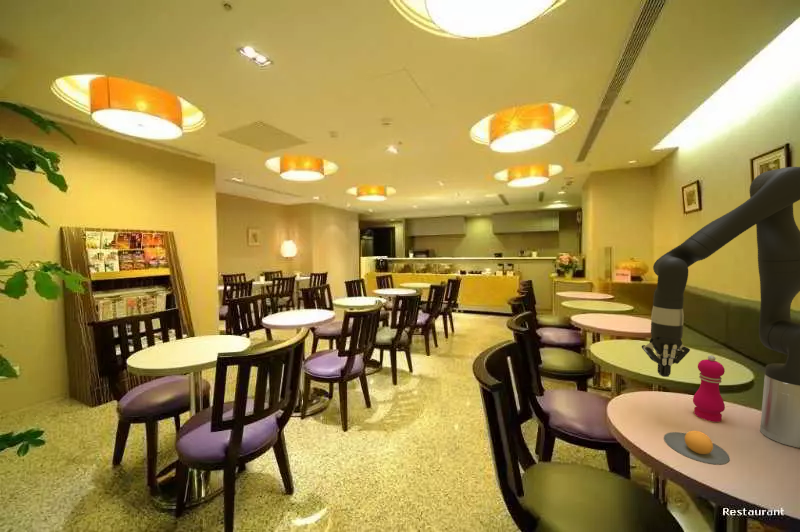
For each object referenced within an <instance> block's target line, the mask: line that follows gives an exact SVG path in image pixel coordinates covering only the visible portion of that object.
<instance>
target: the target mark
mask: <svg viewBox="0 0 800 532" xmlns="http://www.w3.org/2000/svg"><path fill="white" fill-rule="evenodd" d="M685 435H686V432H677V431H675V432H674V431H671V432H667V433H666V434H664V435H663V436H664V437H663V440H664V442H665V444H666V445H667V446H668V447H670V448H671V449H672V450H673V451H674V452H677V453H678V454H680V455H682V456H685V457H687V458H689V459H692V460H694V461H698V462H700V463H705V464H709V465H710V464H711V465H716V464H719V465H725V464H728V463H729V462H730V456H729V453H728V452H726V451H725V450H724V449H723V448H722V447H721V446H719V445H717V444H716V443H713V442H712V443H713V450H712V451H711V452H710V453H708V454H698V453H696V452H694V451H692V450H691V449H690V448H689V447H688V446H687V445H686V443H685Z"/></svg>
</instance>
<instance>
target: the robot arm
mask: <svg viewBox="0 0 800 532" xmlns="http://www.w3.org/2000/svg"><path fill="white" fill-rule="evenodd" d="M749 196H750V197H749V198H748V199H747V200H745V201H744V202H743V203H741V204H740V205H739V206H737V207H736V208H734V209H732V210H730V211H728V212H727V213H725V214H723V215H721V216H719V217H718V218H716V219H714V220H712V221H711V222H709V223H708V224H706V225H704V226H703V227H702V228H700V229H698V231H696V232H695V233H694V234H692V235H690V237H688V238H687V239H685V240H684V241H683V242H682V243H680V244H679V245H678V246H676V247H674V248H671V250H669V251H668V252H666V253H664V254H663V255H660V257H659V258H658V259H656V260H655V262H654V264H653V267H652V269H653V273H654V274H655V276H657V281H656V282H657V284H656V285H657V286H656V288H655V290H654V292H653V302H652V309H651V318H650V319H651V320H650V322H651V323H650V335H651V337H650V339H649V343H647V344H646V345H644V344H643V345H641V348H642V350H643V352H644V353H645V354H646V355H647V357H648V358H649V359H650V360H651V361H652V362H655V363H656V364H657V373H658V374H659V376H661V377H663V378H665V377H666V378H668V377H670V375H671V374H672V373H671V371H672V370H671V369H672V365H674V364H676V365H677V364H679V363H680V362H681V361H682V360H683V359H684V358H685V357H686V356H687V354H688V353H689V352H690V351H691V349H690V348H689V347H687V346H685V345H684V344H683V341H682V339H683V335H684V333H683V332H684V318H685V316H684V315H685V314H684V302H685V301H684V300H685V298H684V297H685V296H684V294H685V290H686V287H687V283H688V279H689V267H691V266H692V265H694V264H695V263H696V262H700V261H703V260H705V259H707V258H709V257H710V256H712V255H713V254H715V253H716V252H717V251H719V250H720V249H721V248H724V246H725V245H727V244H728V243H730V242H731V241H733V240H735V239H736V238H737V237H738V236H740V235H741V234H743V233H745V232H746V231H747V230H750V228H752V227H754V226H755V225H756V246H757V247H756V248H757V264H758V265H757V266H758V268H757V269H758V275H759V287H760V289H759V291H760V308H759V309H760V310H759V321H758V322H759V323H758V337H759V341H760V342H761V343H762V345H763V346H764V347H765V348H767V349H769V350H772V351H773V352H774V351H775V352H778V353H781V354H784V355H786V356H787V358H786V361H785V363H777V362H776V363H768V364H767V365H765V369H764V381H763V390H762V391H763V392H762V403H761V404H762V405H761V413H760V414H761V417H760V425H759V427H760V429H759V431H760V433H761V434H762V435H763V436H764V437H766V438H769V439H771V440H772V441H774V442H777V443H780V444H783V445H785V446H789V447H794V448H799V449H800V322H796V321H792V317H791V308H792V307H791V306H792V303H793V300H795V297H796V296H797V295H798V294H799V293H800V229H799V227H798V225H797V222H796V221H795V216H794V204H795V203H796V202H799V201H800V166H787V167H786V166H785V167H781V168H777V169H772V170H767V171H764V172H762V173H760V174H759V175H757V176H756V177H755V178H753V180H752V182H751V183H750V186H749Z"/></svg>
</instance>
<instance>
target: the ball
mask: <svg viewBox="0 0 800 532" xmlns="http://www.w3.org/2000/svg"><path fill="white" fill-rule="evenodd" d="M685 433H686V432H685ZM685 443H686V445H687V446H688V447H689V448H690V449H691V450H692V451H694V452H696V453H698V454H708V453H710V452H711V451H712V450H713V441H712V439H711V438H710V437H709V436H708V435H707V434H705V433H704V432H702V431H699V430H690V431H687V433H686V435H685Z"/></svg>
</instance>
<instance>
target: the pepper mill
mask: <svg viewBox="0 0 800 532" xmlns="http://www.w3.org/2000/svg"><path fill="white" fill-rule="evenodd" d="M716 360H717V359H716V357H715V356H714V355H710V354H709V355H708V356H707V358H706V359H701V360H700V361H699V362H698V363H697V369H698V371H699V372H700V373H699V376H698V378H699V379H700V385H699V387H698V389H697V390H696V392H695V393H694V395H693V399H692V402H693V404H694V405H695V407H694V409H693V410H694V411H693V414H694V415H695V416H697V417H698V418H699V419H701V420H705V421H708V422H711V423H712V422H714V423H719V422H722V418H723V415H722V413H723V412H724V411H725V409H726V407H725V401H724V399H723V397H722V396H721V391H720V384H721V383H722V376H723V375H724V374H725V367H724V365H723V364H722V363H720V362H718V361H716Z"/></svg>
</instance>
